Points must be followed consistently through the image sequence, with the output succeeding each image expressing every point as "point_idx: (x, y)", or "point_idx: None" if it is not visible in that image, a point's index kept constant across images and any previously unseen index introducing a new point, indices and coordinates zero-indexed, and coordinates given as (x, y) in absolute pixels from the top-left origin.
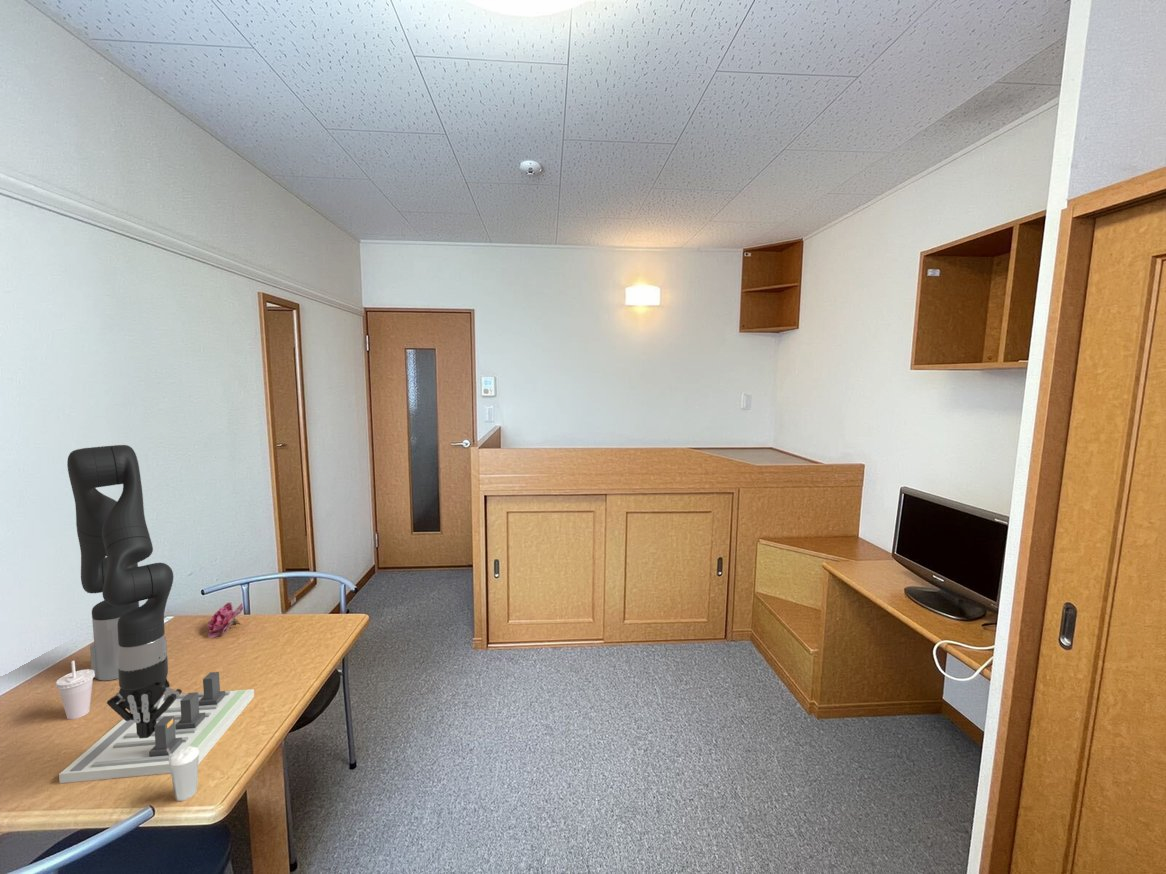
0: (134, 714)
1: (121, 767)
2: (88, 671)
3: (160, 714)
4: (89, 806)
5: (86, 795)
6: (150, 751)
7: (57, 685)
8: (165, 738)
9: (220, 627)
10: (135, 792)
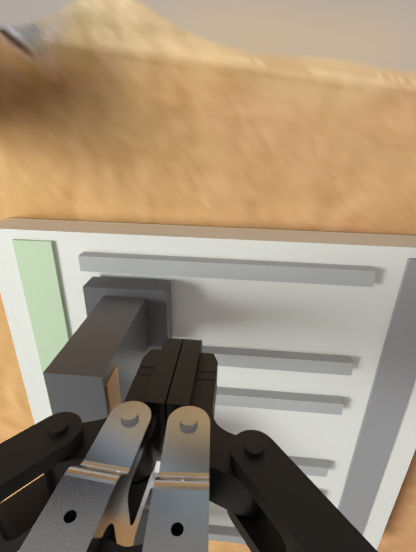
0: (197, 470)
1: (249, 245)
2: None
3: (20, 437)
4: (272, 84)
5: (323, 153)
6: (161, 292)
7: None
8: (83, 322)
9: None
10: (140, 137)
